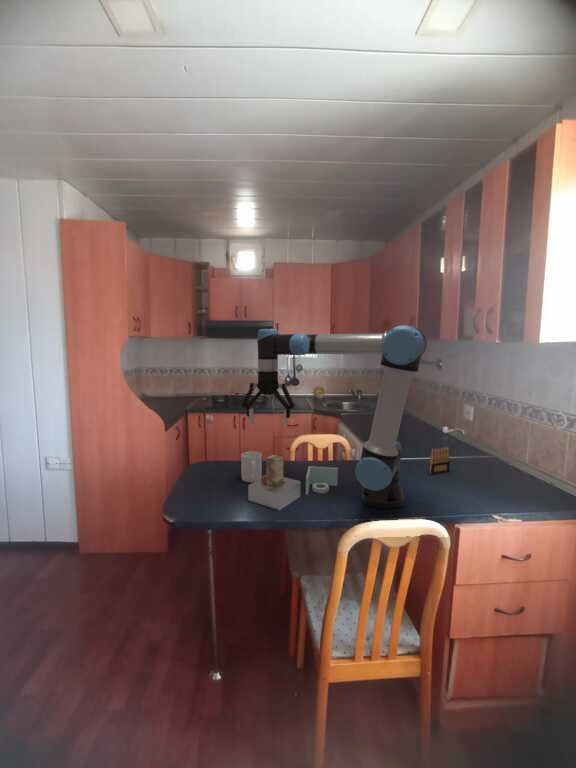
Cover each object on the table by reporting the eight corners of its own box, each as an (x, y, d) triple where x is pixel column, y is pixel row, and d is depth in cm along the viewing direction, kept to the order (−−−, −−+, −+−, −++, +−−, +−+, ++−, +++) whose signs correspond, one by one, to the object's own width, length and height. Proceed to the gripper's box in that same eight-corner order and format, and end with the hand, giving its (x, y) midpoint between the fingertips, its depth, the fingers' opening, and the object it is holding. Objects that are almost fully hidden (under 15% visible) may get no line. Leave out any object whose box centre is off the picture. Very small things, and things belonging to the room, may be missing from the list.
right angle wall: (305, 495, 141) (305, 476, 140) (308, 483, 153) (308, 466, 152) (336, 497, 139) (337, 478, 138) (337, 485, 151) (337, 468, 150)
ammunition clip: (431, 475, 163) (432, 449, 162) (428, 473, 165) (429, 447, 163) (449, 472, 167) (451, 446, 166) (446, 470, 169) (448, 445, 167)
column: (283, 497, 138) (283, 456, 136) (276, 502, 134) (276, 460, 132) (273, 494, 141) (273, 454, 139) (265, 499, 137) (266, 457, 135)
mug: (244, 486, 148) (243, 461, 147) (240, 476, 159) (240, 452, 158) (264, 484, 150) (265, 459, 149) (259, 474, 162) (259, 450, 160)
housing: (300, 496, 140) (300, 476, 139) (279, 510, 128) (279, 488, 127) (270, 487, 147) (270, 468, 146) (248, 500, 135) (248, 479, 134)
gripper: (302, 370, 139) (302, 424, 141) (239, 369, 144) (240, 422, 146) (298, 371, 132) (298, 429, 134) (233, 370, 136) (234, 426, 139)
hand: (268, 425), depth 140 cm, fingers open, 13 cm apart
